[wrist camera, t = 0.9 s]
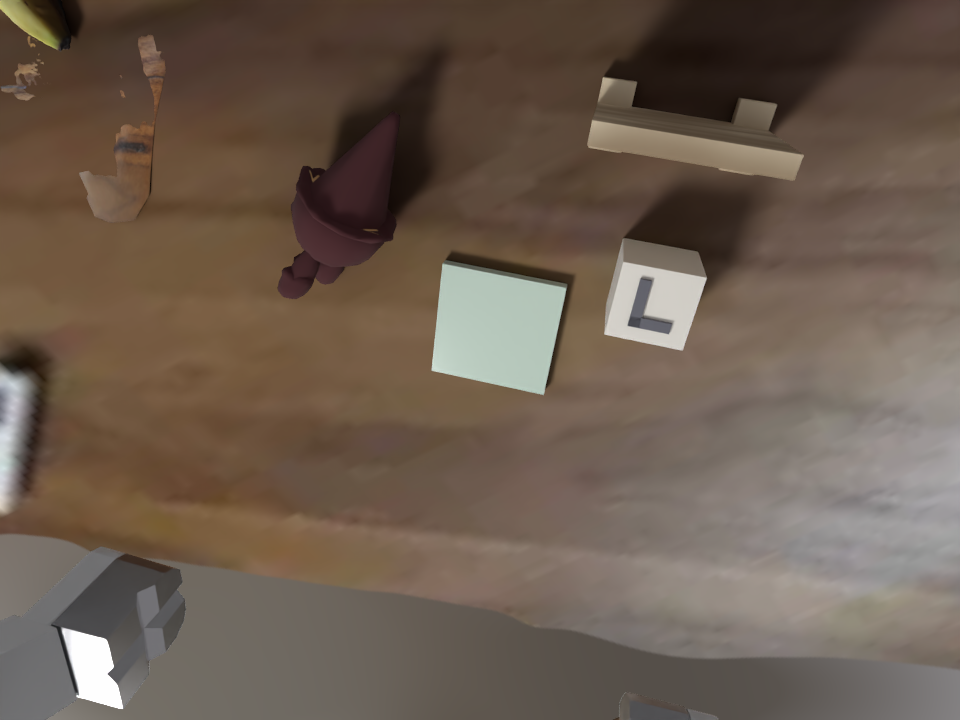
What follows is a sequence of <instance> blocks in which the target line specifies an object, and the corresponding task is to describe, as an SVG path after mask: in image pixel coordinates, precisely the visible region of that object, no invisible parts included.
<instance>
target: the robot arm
mask: <svg viewBox="0 0 960 720" xmlns="http://www.w3.org/2000/svg"><path fill="white" fill-rule="evenodd" d="M181 584H182V577H181V572H180V569H177V568H173V567H170V566H166V565H163V564H159V563H156V562H152V561H149V560H146V559H143V558H139V557H136V556H132V555H129V554H127V553H123V552H119V551H116V550H112V549H109V548H105V547H99V548H97V549H95V550H93V551H91V552H90V553H88V554H87V556H85V557H84V558H83V559H82V560H81V561H80V562H79V563H78V564H77V565H76V566H75V567H74V568H73V569H72V570H70V571H69V572H68V573H67V574H66V575H65V576H64V577H63V578H62V579H61V580H60V581H59V582H58V583H57V584H56V585H55V586H53V587H52V589H50V590H49V591H48V592H47V593H46V594H45V595H44V596H43V597H42V598H41V599H40V600H39V601H38V602H37V603H35V604H34V605H33V606H32V607H31V608H30V609H29V610H28V611H27V612H26V613H25V614H24V615H23V616H22V617H20V616H16V615H12V616H10V617H8V618H5V619H3V620H1V621H0V720H46V719H48V718H49V717H51V716H53V715H54V714H56V713H57V712H59V711H60V710H62V709H64V708H65V707H67V706H68V705H70V704H71V703H73V702H74V701H76V700H77V697H80V698H84V699H88V700H91V701H95V702H99V703H102V704H106V705H110V706H113V707H117V708H121V709H123V708H124V707H125V705H126V704H127V703H128V701H129V700H130V699H131V697H132V696H133V695H134V694H135V692H136V691H137V690H138V688H139V687H140V686H141V684H142V683H143V681H144V680H145V679H146V678H147V676H148V675H149V661H150V660H151V659H153V658H155V657H157V656H159V655H161V654H163V653H165V652H166V651H167V650H168V648H169V647H170V645H171V644H172V643H173V641H174V640H175V639H176V637H177V635H178V632H179V630H180V628H181V626H182V624H183V621H184V617H185V611H186V606H185V599H184V598H183V596H182V595H181V594H180V593H179V592H178V591H177V589H178V587H179V586H180V585H181ZM614 720H719V719H718V717H716V716H714V715H710V714H706V713H703V712H699V711H694V710H690V709H686V708H685V707H684V706H680V705H676V704H672V703H668V702H664V701H660V700H657V699H653V698H649V697H645V696H641V695H637V694H633V693H629V692H626V693H625V694H624V695H623V696H622V699H621V701H620V703H619V717H618V718H616V719H614Z"/></svg>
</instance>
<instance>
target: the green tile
mask: <svg viewBox="0 0 960 720" xmlns="http://www.w3.org/2000/svg"><path fill="white" fill-rule="evenodd" d="M566 289H567V284H565V283H560V282H555V281H550V280H545V279H539V278H534V277H529V276H524V275H519V274H514V273H509V272H504V271H499V270H494V269H488V268H483V267H478V266H473V265H468V264H463V263H458V262H453V261H448V260H445V261H444V263H443V265H442V275H441V285H440V294H439V304H438V314H437V324H436V333H435V343H434V353H433V363H432V371H437V372H441V373H446V374H450V375H455V376H459V377H464V378H469V379H473V380H478V381H482V382H487V383H492V384H496V385H501V386H505V387H510V388H515V389H519V390H524V391H528V392H533V393H538V394H542V395H544V391H545V386H546V382H547V377H548V373H549V368H550V363H551V359H552V354H553V349H554V345H555V340H556V335H557V331H558V326H559V321H560V317H561V312H562V307H563V303H564V298H565V293H566Z"/></svg>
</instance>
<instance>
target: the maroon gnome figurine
mask: <svg viewBox="0 0 960 720" xmlns="http://www.w3.org/2000/svg"><path fill="white" fill-rule="evenodd" d="M399 122H400V115H399V114H398V113H396V112H393V111H392V112H391V113H390V114H389V115H387V116H386V117H385V118H384V119H383V120H382V121H381V122H379V123H378V124H377V125H376V126H375V127H374V128H373V129H372V130H371V131H370V132H369V133H367V134H366V135H365V136H364V137H363V138H362V139H361V140H360V141H359V142H357V143H356V144H355V145H354V146H353V147H352V148H351V149H350V150H349V151H347V152H346V153H345V154H344V155H343V156H342V157H341V158H340V159H338V160H337V161H336V162H335V163H334V164H333V165H332V166H331V167H330V168H328V169H327V170H326V171H325V170H324V169H321V168H313V169H312V168H310V167H309V166H303V167H302V169H301V173H300V177H299V180H298V182H297V184H296V191H297V194H296V197H295V200H294V202H293V203H292V204H291V211H292V218H293V225H294V229H295V233H296V237H297V240H298V242H299V243H300V245H301V247H302V248H303V249H304V251H303V252H302V253H301V254H299V255H297V256H295V257H294V263H293V264H292V266H290V267H285V268H284V269H283V270H282V276H281V279H280V281H279V284H278V291H279V292H280V294H281V295H282V296H283V297H286V298H290V299H297V298H299V297H301V296H303V295H304V294H306V293H307V292H308V290H309V289H310V288H311V287H312V284H313V282H314V278H315V277H316V279H317V280H318V281H319V282H320V283H322V284H330V283H333V282H334V281H335V280H336V279H337V278H338V276H339V275H340V274H341V273H342V272H343V270H344V267H345V266H353V265H359V264H361V263H362V262H364V261H366V260H368V259H369V258H370V257H371V256H372V255H373V254H374V253H375V252H376V251H377V250H378V249H379V248H380V247H381V246H382V245H383V244H384V242H386V241H391V240H393V233H394V230H395V228H396V219H395V217H394V216H393V215H392V213H391V212H390V211H389V210H388V209H387V208H388V201H389V193H390V186H391V179H392V171H393V164H394V157H395V149H396V143H397V137H398V130H399Z"/></svg>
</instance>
